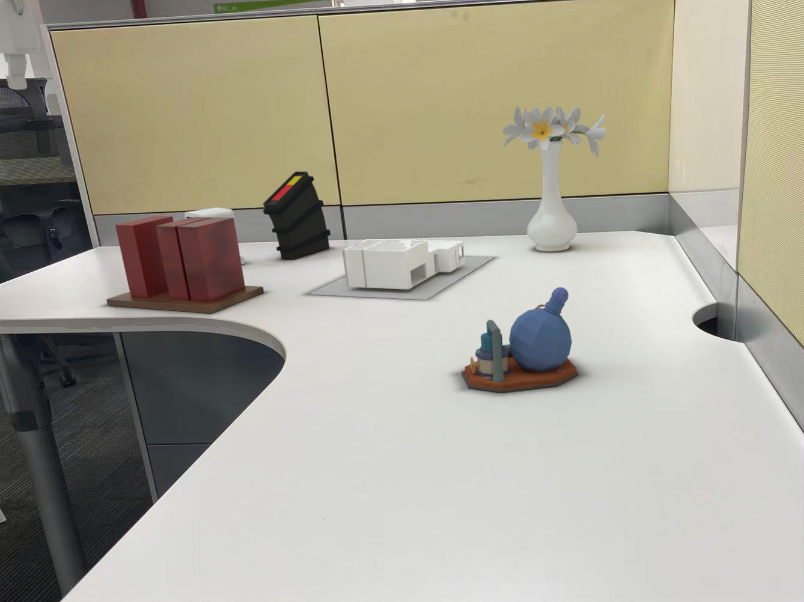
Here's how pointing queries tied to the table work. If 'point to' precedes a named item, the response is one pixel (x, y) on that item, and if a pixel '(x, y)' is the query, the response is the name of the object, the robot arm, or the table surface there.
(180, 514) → the table surface
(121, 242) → the book
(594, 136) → the flower vase
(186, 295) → the book rack
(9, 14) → the robot arm
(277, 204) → the magazine
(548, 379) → the model
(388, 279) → the house
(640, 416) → the table surface
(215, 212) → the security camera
